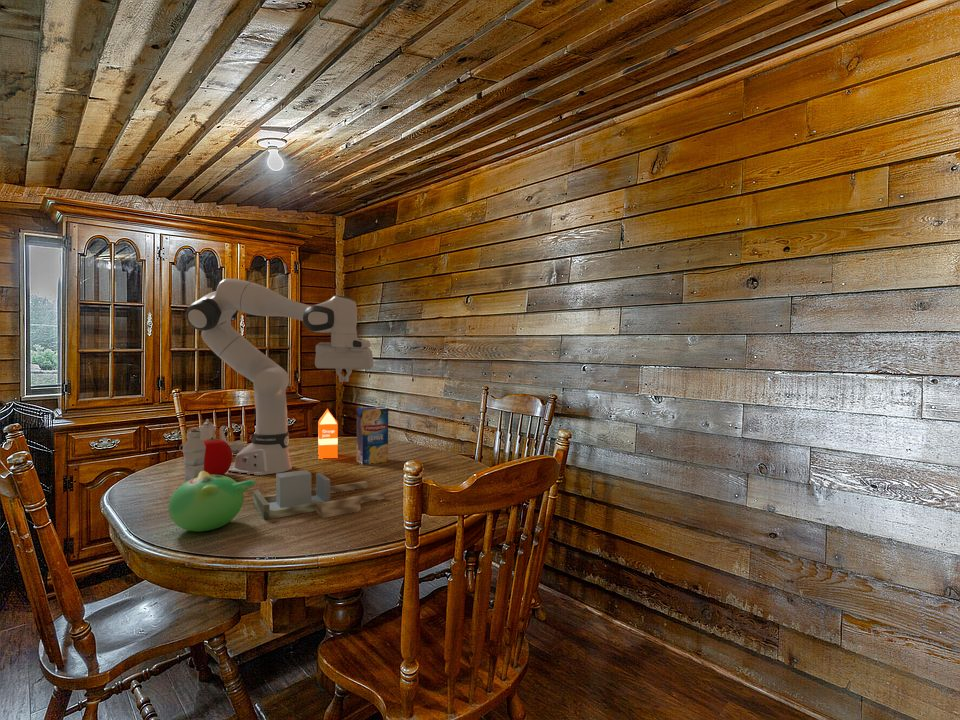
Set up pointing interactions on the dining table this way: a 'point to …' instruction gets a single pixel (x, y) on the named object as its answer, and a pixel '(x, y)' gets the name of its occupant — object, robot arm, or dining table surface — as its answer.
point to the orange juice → (327, 436)
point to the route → (317, 503)
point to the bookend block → (299, 489)
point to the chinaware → (209, 432)
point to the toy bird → (207, 502)
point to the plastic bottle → (193, 455)
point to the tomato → (217, 456)
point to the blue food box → (372, 435)
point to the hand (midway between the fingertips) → (343, 381)
